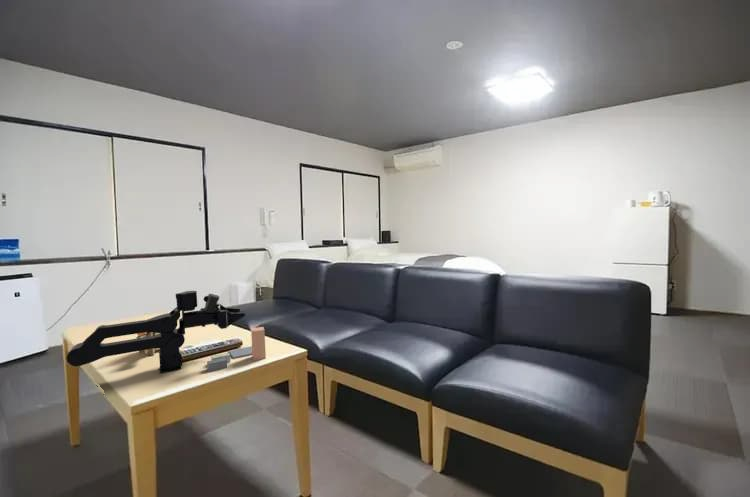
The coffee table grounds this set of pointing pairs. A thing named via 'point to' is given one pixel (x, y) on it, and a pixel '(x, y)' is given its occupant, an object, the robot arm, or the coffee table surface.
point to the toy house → (150, 351)
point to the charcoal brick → (216, 364)
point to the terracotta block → (258, 343)
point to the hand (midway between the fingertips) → (242, 312)
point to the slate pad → (241, 352)
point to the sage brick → (225, 355)
